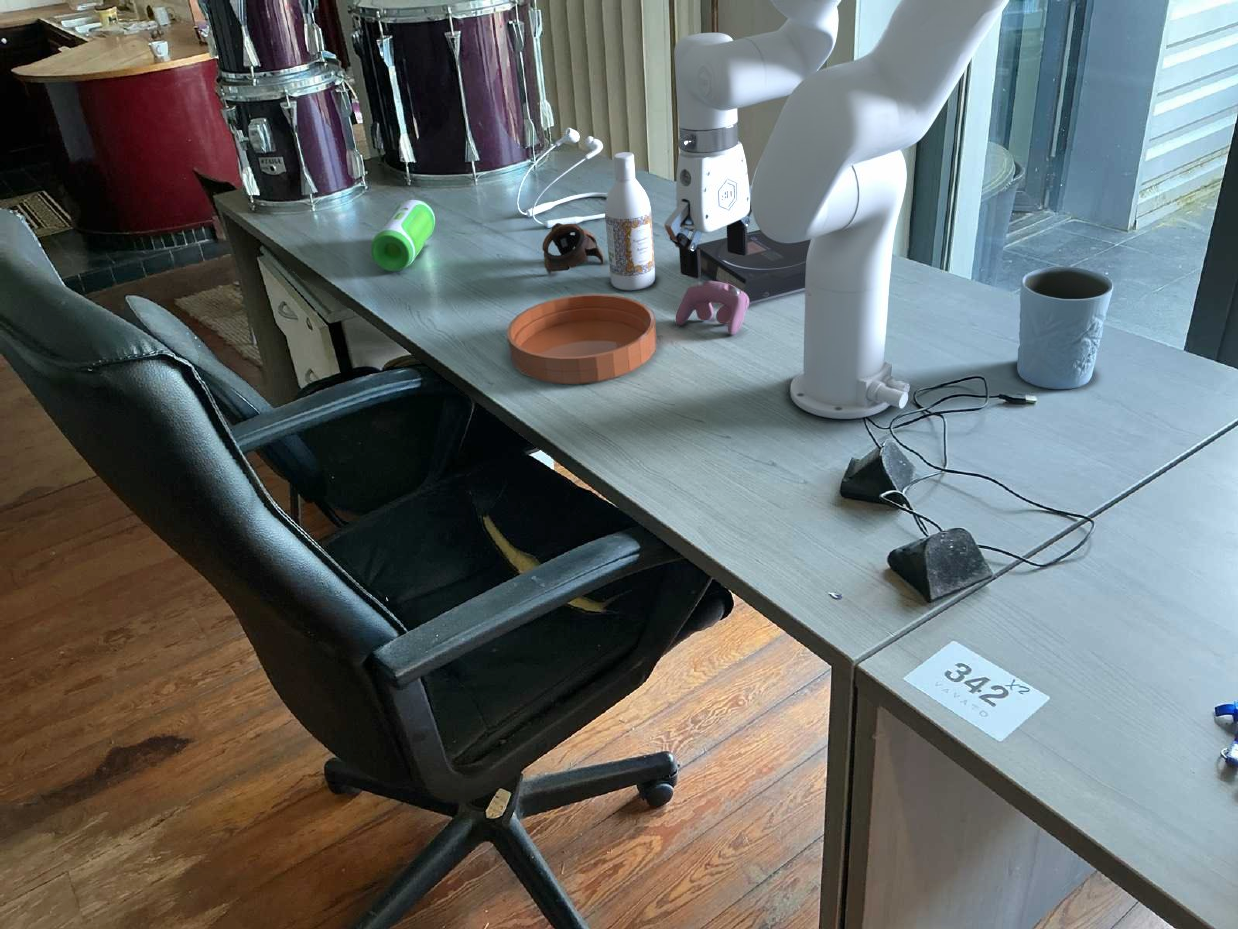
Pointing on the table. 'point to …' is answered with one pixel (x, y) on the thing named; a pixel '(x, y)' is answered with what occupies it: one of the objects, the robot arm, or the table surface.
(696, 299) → the video game controller
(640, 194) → the bath foam
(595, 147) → the earphone
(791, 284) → the portable cd player
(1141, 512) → the table surface
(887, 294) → the robot arm
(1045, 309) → the embossed flower pot
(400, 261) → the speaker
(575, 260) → the brown ring bracket
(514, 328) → the catchall bowl
